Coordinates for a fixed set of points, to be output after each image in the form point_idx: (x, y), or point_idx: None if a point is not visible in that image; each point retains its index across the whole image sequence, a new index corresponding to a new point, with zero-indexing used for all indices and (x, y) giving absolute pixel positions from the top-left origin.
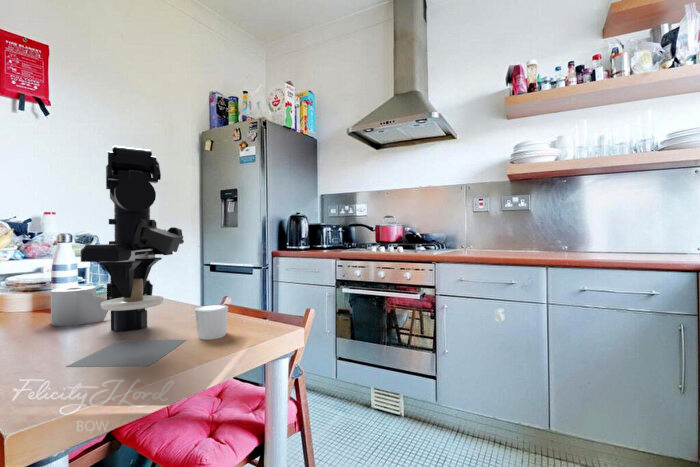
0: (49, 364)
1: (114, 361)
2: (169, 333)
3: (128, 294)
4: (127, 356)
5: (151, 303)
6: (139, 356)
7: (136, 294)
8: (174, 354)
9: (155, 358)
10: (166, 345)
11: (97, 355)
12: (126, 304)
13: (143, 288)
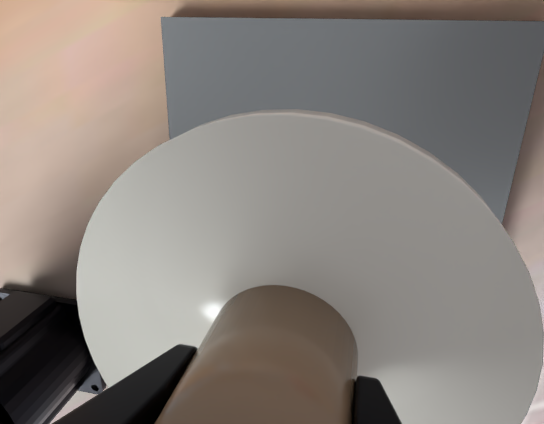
0: None
1: None
2: (49, 175)
3: (390, 406)
4: None
5: (410, 145)
6: None
7: (325, 351)
8: (324, 6)
9: (440, 45)
10: (251, 85)
11: None
12: (474, 336)
13: (147, 368)
